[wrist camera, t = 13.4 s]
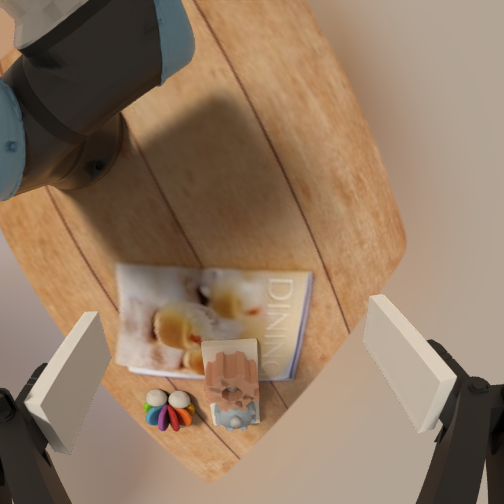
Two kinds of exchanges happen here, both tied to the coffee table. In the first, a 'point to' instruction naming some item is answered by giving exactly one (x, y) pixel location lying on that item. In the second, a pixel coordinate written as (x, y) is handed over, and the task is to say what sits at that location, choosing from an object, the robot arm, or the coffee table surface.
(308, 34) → the coffee table surface
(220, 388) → the gear
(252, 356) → the gear board
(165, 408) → the white-domed colorful disc toy
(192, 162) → the coffee table surface
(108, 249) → the coffee table surface
